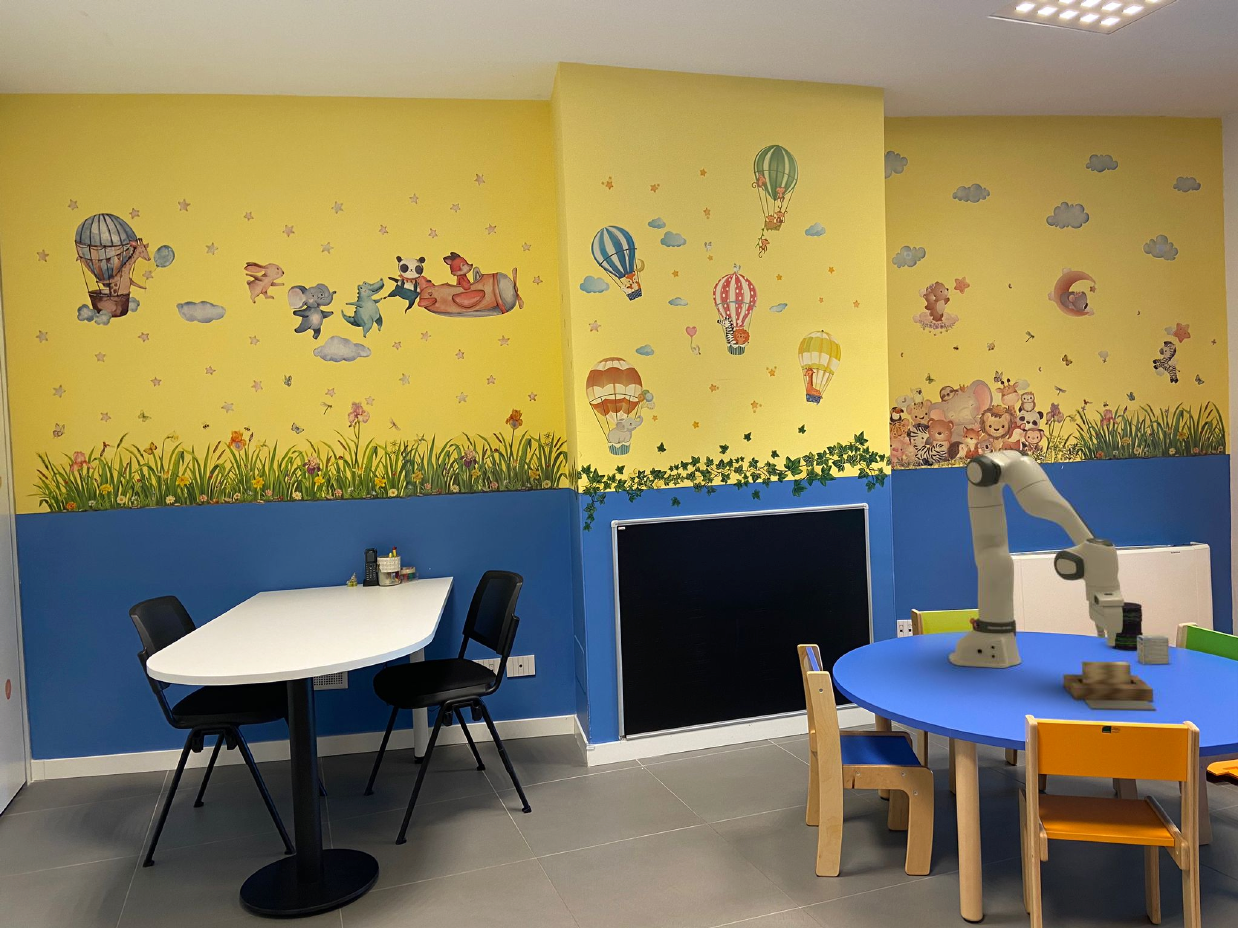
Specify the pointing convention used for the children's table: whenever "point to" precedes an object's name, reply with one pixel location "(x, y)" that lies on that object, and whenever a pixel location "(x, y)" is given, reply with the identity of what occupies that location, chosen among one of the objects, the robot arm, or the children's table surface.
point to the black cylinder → (1129, 627)
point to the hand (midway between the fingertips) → (1106, 641)
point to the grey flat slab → (1119, 705)
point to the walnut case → (1108, 689)
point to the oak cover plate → (1106, 672)
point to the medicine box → (1153, 649)
